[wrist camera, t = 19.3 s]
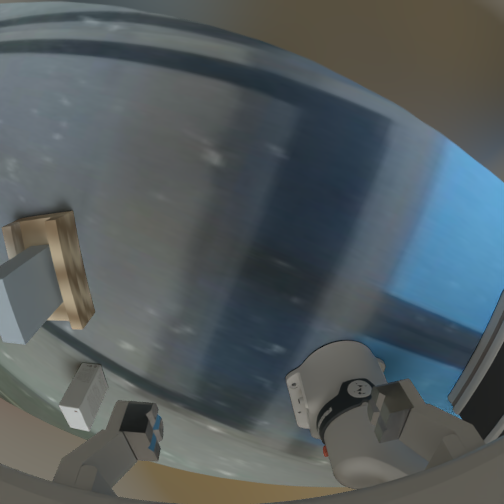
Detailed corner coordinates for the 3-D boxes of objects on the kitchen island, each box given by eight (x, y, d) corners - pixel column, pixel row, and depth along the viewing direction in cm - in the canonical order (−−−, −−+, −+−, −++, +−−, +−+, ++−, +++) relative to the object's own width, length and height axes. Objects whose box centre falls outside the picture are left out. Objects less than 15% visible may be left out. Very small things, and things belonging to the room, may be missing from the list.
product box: (52, 244, 41) (2, 279, 29) (65, 298, 44) (25, 344, 32) (30, 246, 41) (-20, 279, 29) (44, 298, 44) (2, 341, 32)
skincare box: (81, 361, 52) (57, 404, 40) (101, 364, 52) (79, 408, 41) (90, 385, 54) (69, 428, 42) (109, 387, 54) (90, 432, 43)
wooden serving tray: (95, 312, 48) (82, 329, 43) (43, 311, 48) (28, 326, 43) (73, 210, 43) (55, 219, 37) (19, 218, 42) (0, 227, 37)
